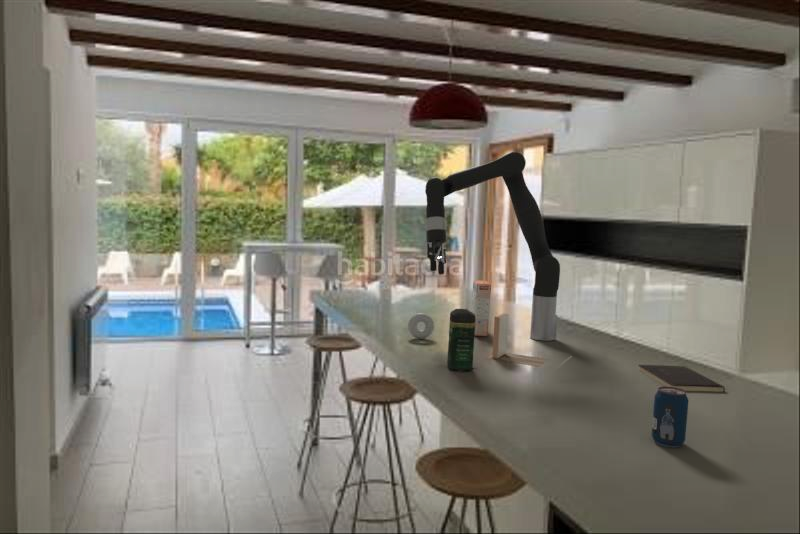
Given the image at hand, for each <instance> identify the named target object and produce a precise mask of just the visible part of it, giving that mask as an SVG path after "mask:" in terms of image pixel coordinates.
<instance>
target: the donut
mask: <svg viewBox="0 0 800 534" xmlns="http://www.w3.org/2000/svg"><path fill="white" fill-rule="evenodd" d="M421 322H422V323H423V324H424V325H425V326H424V328H423V329H422V330H421V329H418V327H417V326H418V324H419V323H421ZM434 329H435V323H434V320H433V318H432V317H431V316H430V315H429V314H427V313H425V312H419V313H416V314H414V315H412V316H411V317H410V318H409V320H408V323H407V330H408V332H409V334H410V336H412V337H413V338H415V339H418V340H419V339H420V340H424V339H427V338H428V337H430V336H431V335H432V333H433V332H434Z"/></svg>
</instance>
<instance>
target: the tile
mask: <svg viewBox="0 0 800 534" xmlns="http://www.w3.org/2000/svg"><path fill="white" fill-rule="evenodd" d="M509 316H510V315H509V313H506V312H505V313H504V312H503V313H500V314H497V315H496V316H495V315H494V320H493V321H494V324H493V339H492V340H493V341H492V353H491V355H492V358H495V359H497V358H499V357H501V356H503V355H504V354H506V353H508V351H507V349H508V332H509V320H510V319H509V318H510V317H509Z"/></svg>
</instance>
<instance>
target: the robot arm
mask: <svg viewBox="0 0 800 534" xmlns="http://www.w3.org/2000/svg"><path fill="white" fill-rule="evenodd" d="M525 168H526V159H525V156H524V155H523V154H522V153H521V152H519V151H509V152H506V153H505V154H503V155H502V156H501V157H499V158H497V159H494V160H493V161H489V162H487V163H484V164H480V165H477V166H473V167H469V168H466V169H462V170H459V171H456V172H453V173H451V174H449V175H448V176H447V177H445V178H443V179H441V178H440V177H437V176H436V177H435V176H433V177H430V178H429V179H428V181H426V185H425V195H426V208H425V209H426V213H425V216H426V217H425V219H426V222H425V233H426V237H425V238H426V246H427V254H426V255H427V256H426V257H427V259H428V260H429V263H430V265H429V267H430V268H429V269H430V272H436V271H437V272H438V273H437V274H438V275H440V276H441V275H444V274H445V264H447V250H446V247H445V248H444V247H443V244H445V243H447V224H446V213H445V212H446V211H445V197H447V196H449V195H451V194H453V193H456V192H458V191H461V190H463V191H464V190H466V189H468V188H471V187H474V186H477V185H479V184H481V183H483V182H487V181H489V180H493V179H496V178H501V177H502V180H503V182H504V183H505V185H506V189H507V190H508V193H509V196H510V201H511V204H512V208H513V210H514V213H515V217H516V219H517V222H518V225H519V228H520V230H521V232H522V235H523V238H524V240H525V241H526V244H527V246H528V250H529V253H530V256H531V257H530V258H531V262H532V266H533V269H534V272H535V275H534V277H535V278H534V286H533V289H532V300H531V301H532V302H531V303H532V304H531V317H530V318H531V320H530V333H529V334H530V335H529V338H530V339H532V340H534V341H535V340H536V341H541V342H543V341H545V342H546V341H547V342H548V341H549V342H550V341H554V340H557V330H558V315H557V314H556V313H557V301H558V300H557V299H558V298H557V297H558V291H559V288H560V277H561V263H560V262H559V260H558V259H557V258H556V257H555V256H554V255H553V254H552V251H551V250H550V247H549V245H548V241H547V237H546V231H545V226H544V225H545V224H544V220H543V216H542V213H541V210H540V208H539V205H538V203H537V201H536V199H535V197H534V196H533V194H532V193H531V191H530V190H529V188H528V186H527V183H526V182H525V177H524V173H523V171H524V169H525Z"/></svg>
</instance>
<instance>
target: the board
mask: <svg viewBox="0 0 800 534" xmlns="http://www.w3.org/2000/svg"><path fill="white" fill-rule="evenodd" d="M485 359H487V360H494V361H502V362H507V363H513V364H521V365H525V366H526V365H527V366H533V367H540V366H541V365H542V364H543V363H545V362H547V361H548V360H549V359H548V358H543V357H537V356H536V357H535V356H530V355H524V354H523V355H522V354H518V353H510V352H509V353H508V352H507V353H506V354H504V355H503V356H501V357H499V358H497V359H495V358H492V354H490V355H488V356H486V357H485Z"/></svg>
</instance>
